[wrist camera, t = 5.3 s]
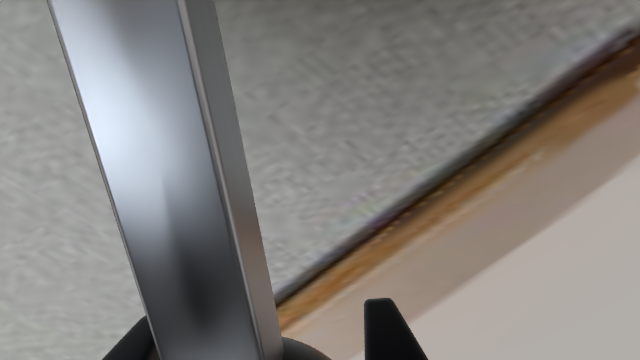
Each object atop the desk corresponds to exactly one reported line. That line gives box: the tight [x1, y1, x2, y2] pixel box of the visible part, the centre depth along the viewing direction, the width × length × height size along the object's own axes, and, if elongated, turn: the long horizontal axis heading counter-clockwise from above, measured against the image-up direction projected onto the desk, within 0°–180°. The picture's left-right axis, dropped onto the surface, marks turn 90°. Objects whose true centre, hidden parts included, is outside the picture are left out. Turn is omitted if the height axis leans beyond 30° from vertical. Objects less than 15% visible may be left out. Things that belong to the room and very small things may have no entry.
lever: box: [47, 0, 331, 360], centre depth 5 cm, size 13×3×3 cm, turn 8°
